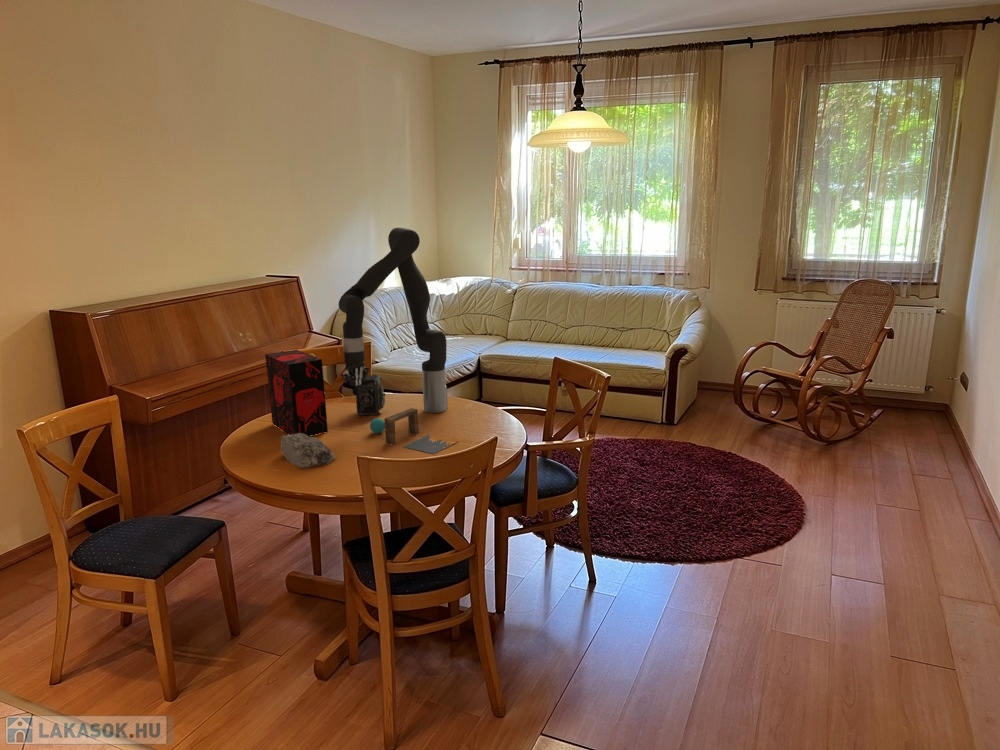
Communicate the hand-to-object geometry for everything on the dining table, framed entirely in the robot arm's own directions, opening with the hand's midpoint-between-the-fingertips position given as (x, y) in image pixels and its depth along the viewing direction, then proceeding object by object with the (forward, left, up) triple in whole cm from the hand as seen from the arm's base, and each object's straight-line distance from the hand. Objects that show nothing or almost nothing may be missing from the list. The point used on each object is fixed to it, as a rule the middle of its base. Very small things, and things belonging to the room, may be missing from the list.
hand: (356, 394), depth 259 cm
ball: (0, +9, -11) cm, 14 cm away
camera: (-18, -11, -14) cm, 25 cm away
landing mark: (0, +34, -14) cm, 37 cm away
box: (+11, -21, -14) cm, 27 cm away
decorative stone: (+32, +8, -14) cm, 35 cm away
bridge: (0, +21, -14) cm, 25 cm away
